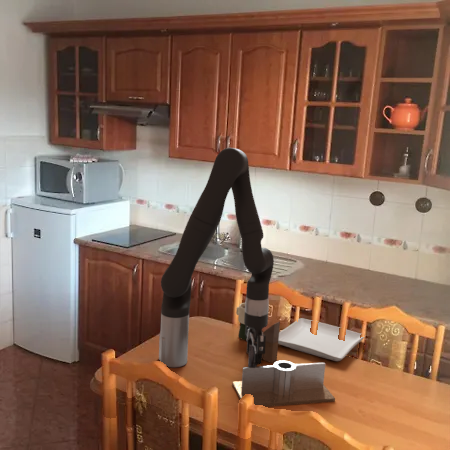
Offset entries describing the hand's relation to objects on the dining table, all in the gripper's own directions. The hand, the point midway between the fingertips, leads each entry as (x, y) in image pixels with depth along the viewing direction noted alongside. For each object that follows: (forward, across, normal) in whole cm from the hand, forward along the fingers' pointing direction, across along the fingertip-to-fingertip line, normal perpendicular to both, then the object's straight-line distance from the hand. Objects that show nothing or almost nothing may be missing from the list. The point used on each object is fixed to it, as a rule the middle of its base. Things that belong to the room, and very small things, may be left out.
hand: (253, 358), depth 172 cm
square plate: (+6, -20, +32) cm, 38 cm away
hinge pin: (+6, 0, 0) cm, 6 cm away
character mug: (+6, -28, +6) cm, 29 cm away
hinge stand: (+6, +13, +5) cm, 15 cm away
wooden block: (+6, -12, +7) cm, 15 cm away
